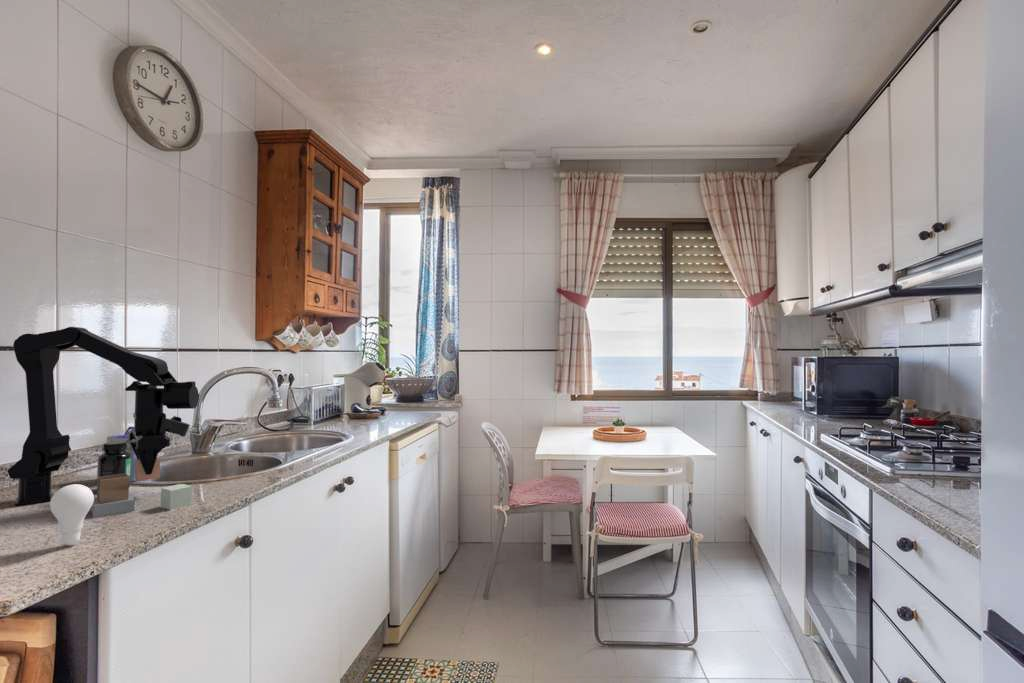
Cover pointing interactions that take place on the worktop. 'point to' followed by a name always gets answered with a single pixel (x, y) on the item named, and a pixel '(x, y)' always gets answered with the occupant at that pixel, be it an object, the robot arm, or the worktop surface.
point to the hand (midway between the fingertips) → (147, 472)
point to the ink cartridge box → (129, 449)
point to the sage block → (176, 496)
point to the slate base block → (112, 507)
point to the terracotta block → (141, 473)
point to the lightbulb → (71, 510)
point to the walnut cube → (113, 488)
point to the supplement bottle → (114, 460)
